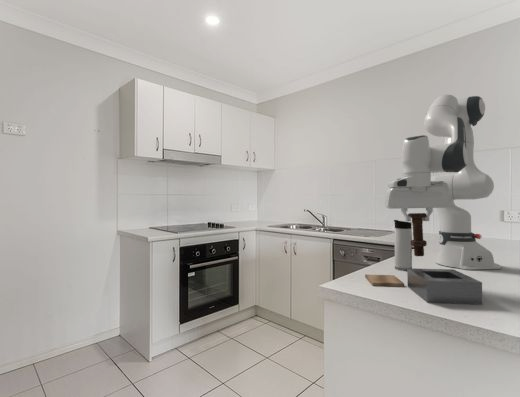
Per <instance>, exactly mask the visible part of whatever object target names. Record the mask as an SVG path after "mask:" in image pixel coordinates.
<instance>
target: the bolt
mask: <svg viewBox="0 0 520 397" xmlns="http://www.w3.org/2000/svg"><path fill="white" fill-rule="evenodd" d="M407 215H408V216H411V223H412V226H411V227H412V236H413V239H412V240H411V245H412V247H413V255H414V256H415V257H424V256H425V247H427V245H428V243H427V241H426V240H424V230H423V229H424V228H423V223H424V221H423V218H426V213H425V212H418V213H416V212H413V213H412V212H411V213H407Z"/></svg>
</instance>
